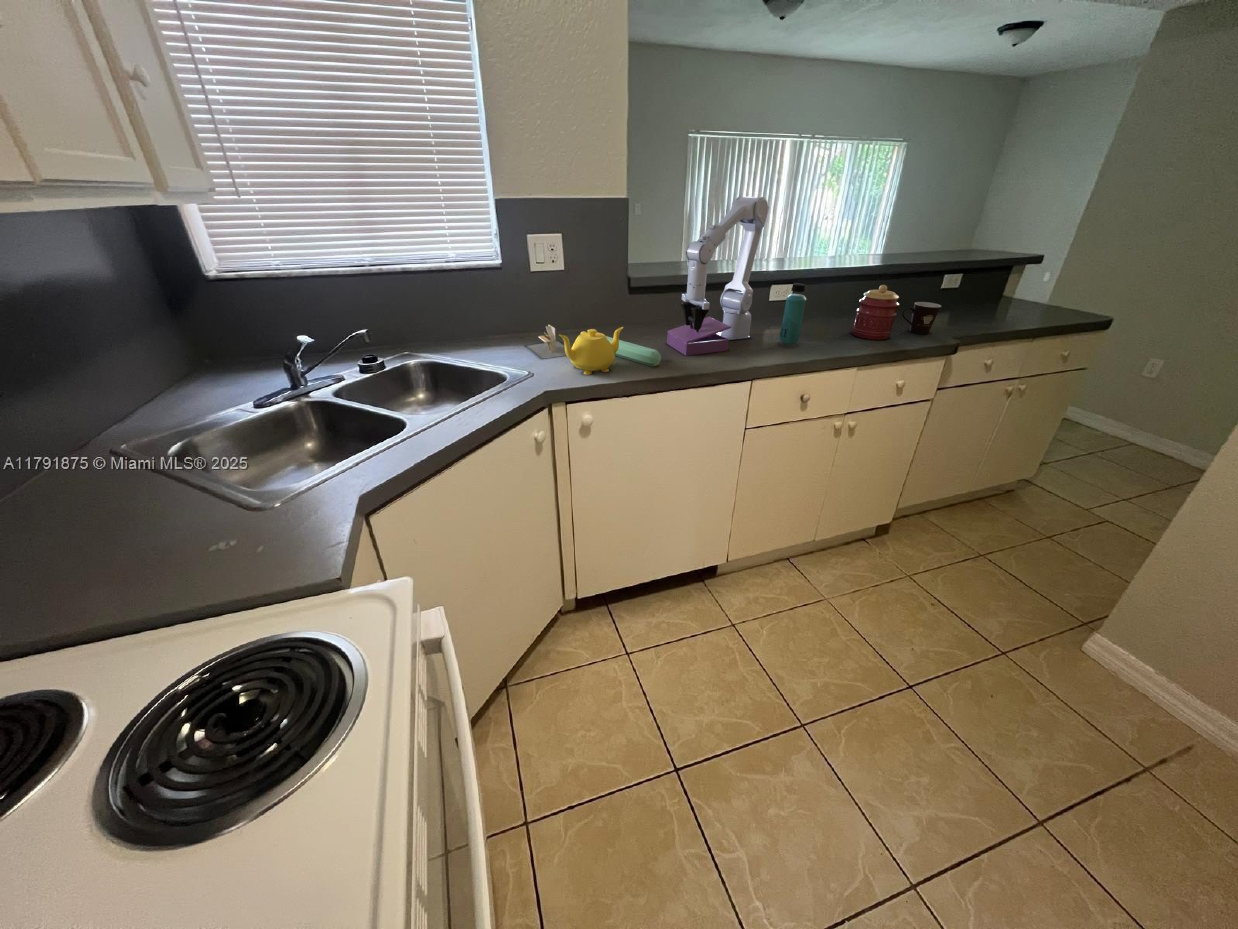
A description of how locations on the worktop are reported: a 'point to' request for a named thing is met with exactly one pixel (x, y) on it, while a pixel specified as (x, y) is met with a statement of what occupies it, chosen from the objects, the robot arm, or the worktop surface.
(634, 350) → the container
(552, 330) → the architectural model
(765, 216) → the robot arm
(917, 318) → the coffee mug
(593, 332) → the teapot
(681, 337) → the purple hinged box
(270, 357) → the worktop surface
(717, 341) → the purple box base
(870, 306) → the kitchen canister
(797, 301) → the beverage bottle
